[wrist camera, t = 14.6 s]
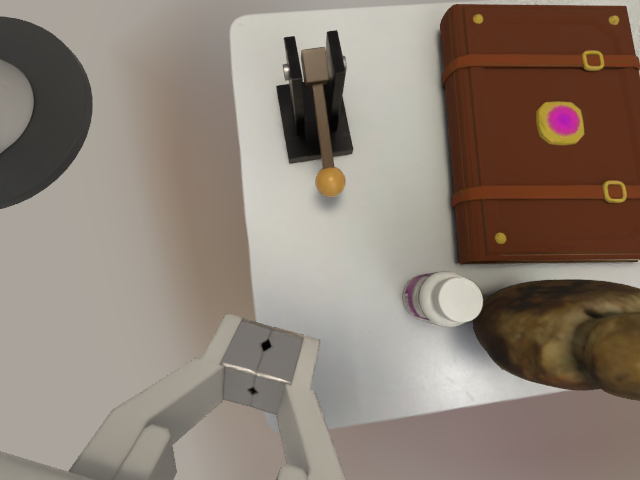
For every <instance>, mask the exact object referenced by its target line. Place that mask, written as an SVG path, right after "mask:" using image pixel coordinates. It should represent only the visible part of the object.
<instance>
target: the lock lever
mask: <svg viewBox="0 0 640 480" xmlns="http://www.w3.org/2000/svg"><path fill="white" fill-rule="evenodd" d="M301 63H302V70H303V76H304V83H305V88H308V87H311V89H312V96H313V103H314V110H315V117H316V123H317V130H318V137H319V144H320V151H321V158H322V165H323V169H322V170H320V171H319V173H318V174H317V176H316V181H315V183H316V187H317V190H318V191H319V192H320V193H321V194H322V195H324V196H327V197H334V196H337V195H339V194H340V193H341V192H342V191H343V189H344V187H345V183H346V181H345V176H344V174H343V172H342V171H341V170H340V169H338V168H336V167H334V162H333V155H332V147H331V140H330V132H329V125H328V117H327V110H326V103H325V95H324V88H323V85H326V84H327V82H328V80H329V74H328V66H327V58H326V51H325V47H320V48H312V49H305V50H302V52H301Z"/></svg>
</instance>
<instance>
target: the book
mask: <svg viewBox="0 0 640 480" xmlns="http://www.w3.org/2000/svg"><path fill="white" fill-rule="evenodd" d="M440 31H441V43H442V56H443V68H444V72H443V75H442V83H443V88H444V90H445V93H446V105H447V117H448V129H449V142H450V154H451V166H452V179H453V191H454V195H453V196H452V207H453V209H455V215H456V228H457V240H458V252H459V263H460V264H488V263H587V262H638V260H640V76H639V71H638V70H640V64H639V58H638V57H636V55H635V49H634V44H633V39H632V34H631V28H630V23H629V18H628V12H627V7H626V6H576V5H476V4H456V5H453V6H452V7H450V8H449V9H448V10H447V12H446V13H445V14H444V16H443V18H442V20H441V23H440Z"/></svg>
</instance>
